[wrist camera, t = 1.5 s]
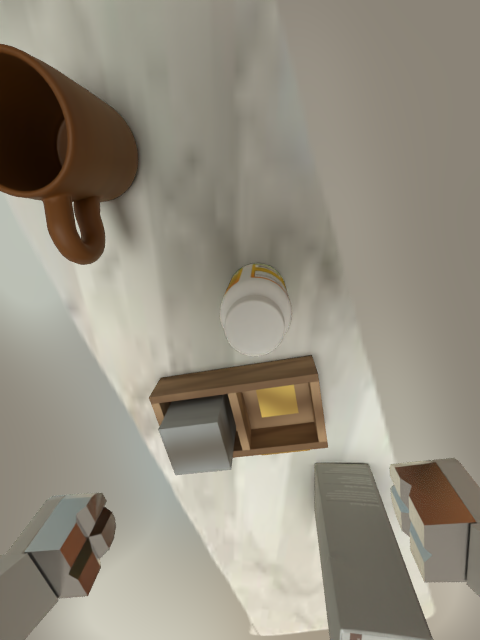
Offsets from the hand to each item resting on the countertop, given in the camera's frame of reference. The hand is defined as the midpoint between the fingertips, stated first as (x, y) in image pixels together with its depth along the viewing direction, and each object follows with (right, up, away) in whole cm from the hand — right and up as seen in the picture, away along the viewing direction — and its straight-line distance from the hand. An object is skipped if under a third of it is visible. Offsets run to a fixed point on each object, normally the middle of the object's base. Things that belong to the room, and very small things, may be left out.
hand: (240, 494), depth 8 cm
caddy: (0, -4, +24) cm, 25 cm away
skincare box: (+12, -15, +28) cm, 34 cm away
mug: (-12, +17, +18) cm, 27 cm away
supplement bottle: (+2, +8, +20) cm, 22 cm away
